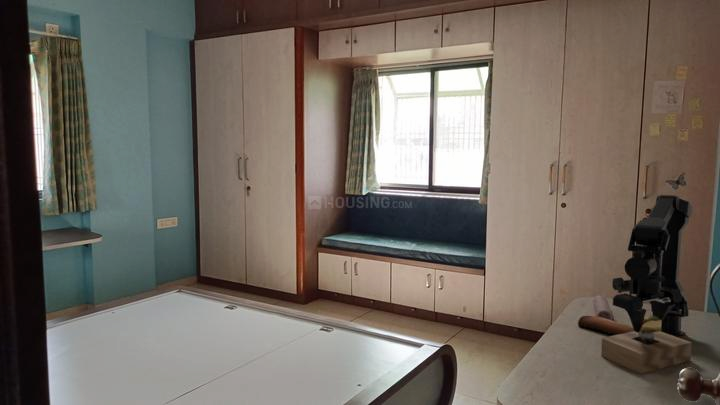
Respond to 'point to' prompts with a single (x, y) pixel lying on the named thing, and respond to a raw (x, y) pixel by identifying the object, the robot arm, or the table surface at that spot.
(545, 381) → the table surface
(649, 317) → the gold shiny rounded part
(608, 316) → the pale lilac cylinder
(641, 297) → the robot arm
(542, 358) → the table surface
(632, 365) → the socket block
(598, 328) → the sunglasses case
